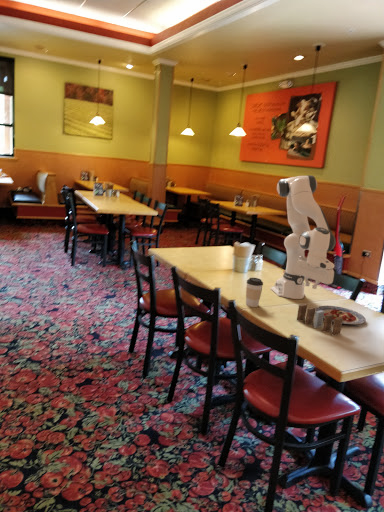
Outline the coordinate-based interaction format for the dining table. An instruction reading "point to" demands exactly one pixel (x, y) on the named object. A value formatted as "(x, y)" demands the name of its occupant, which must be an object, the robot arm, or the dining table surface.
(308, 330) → the dining table surface
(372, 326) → the dining table surface
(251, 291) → the coffee cup
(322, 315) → the tile
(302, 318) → the tile
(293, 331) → the dining table surface
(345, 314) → the ceramic plate
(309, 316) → the tile
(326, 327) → the tile
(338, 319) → the tile
